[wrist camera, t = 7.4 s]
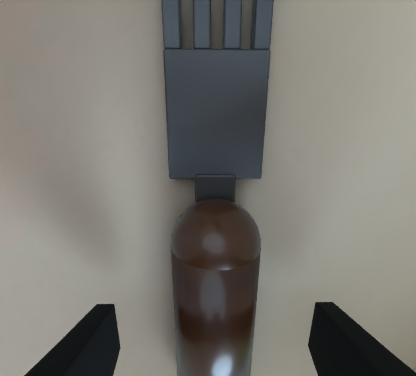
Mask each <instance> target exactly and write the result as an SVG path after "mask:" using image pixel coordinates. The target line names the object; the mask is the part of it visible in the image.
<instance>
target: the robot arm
mask: <svg viewBox="0 0 416 376" xmlns="http://www.w3.org/2000/svg"><path fill="white" fill-rule="evenodd" d="M308 347H309V350H310V353H311V356H312V359H313V362H314V365H315V368H316V371H317V374H318V376H416V373H415V372H414V371H413V370H412V369H411V368H409V367H408V366H407V365H406V364H404V363H403V362H402V361H401V360H400V359H398V358H397V357H396V356H395V355H394V354H392V353H391V352H390V351H389V350H388V349H386V348H385V347H384V346H383V345H382V344H381V343H379V342H378V341H377V340H376V339H375V338H374V337H372V336H371V335H370V334H369V333H368V332H367V331H365V330H364V329H363V328H362V327H361V326H360V325H359V324H357V323H356V322H355V321H354V320H353V319H352V318H350V317H349V316H348V315H347V314H346V313H345V312H344V311H342V310H341V309H340V308H339V307H338V306H336V305H335V304H334V303H333V302H316V303H315V309H314V314H313V320H312V326H311V331H310V337H309V343H308ZM119 351H120V341H119V335H118V328H117V321H116V314H115V307H114V304H97V305H96V306H95V307H94V308H93V309H92V310H91V311H89V312H88V313H87V314H86V315H85V317H84V318H83V319H82V320H81V321H80V322H79V323H78V324H77V325H76V326H75V327H74V328H73V329H72V330H71V331H70V332H69V333H68V334H67V335H66V336H65V337H64V338H63V339H62V340H61V341H60V342H59V343H58V344H57V345H56V346H55V347H54V348H53V349H51V350H50V351H49V352H48V353H47V354H46V355H45V356H44V357H43V358H42V359H41V360H40V361H39V362H38V363H37V364H36V365H35V366H34V367H33V368H32V369H31V370H30V371H29V372H28V373H27V374H25V375H24V376H113V374H114V370H115V366H116V363H117V359H118V355H119Z"/></svg>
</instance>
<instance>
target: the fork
mask: <svg viewBox="0 0 416 376" xmlns="http://www.w3.org/2000/svg"><path fill="white" fill-rule="evenodd" d="M273 1H274V0H253V12H252V32H251V49H240V41H241V17H242V0H224V4H223V49H210V34H211V0H193V23H194V49H182V35H181V0H162V20H163V42H164V51H163V53H164V74H165V96H166V117H167V139H168V161H169V178H170V179H195V204H193V205H192V206H190V207H189V208H187V209H186V210H185V211H184V212H183V214H182V215H181V216H180V217H179V219H178V220H177V222H176V224H175V226H174V229H173V233H172V240H171V257H172V277H173V298H174V319H175V340H176V360H177V376H250V373H251V361H252V349H253V337H254V325H255V312H256V300H257V288H258V276H259V264H260V251H261V239H260V235H259V231H258V227H257V225H256V223H255V221H254V219H253V218H252V217H251V215H250V214H249V213H248V212H247V211H246V210H245V209H244V208H242V207H241V206H240V205H238V204H237V203H235V181H236V179H260V178H261V172H262V159H263V146H264V132H265V119H266V105H267V92H268V79H269V65H270V42H271V28H272V15H273Z"/></svg>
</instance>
